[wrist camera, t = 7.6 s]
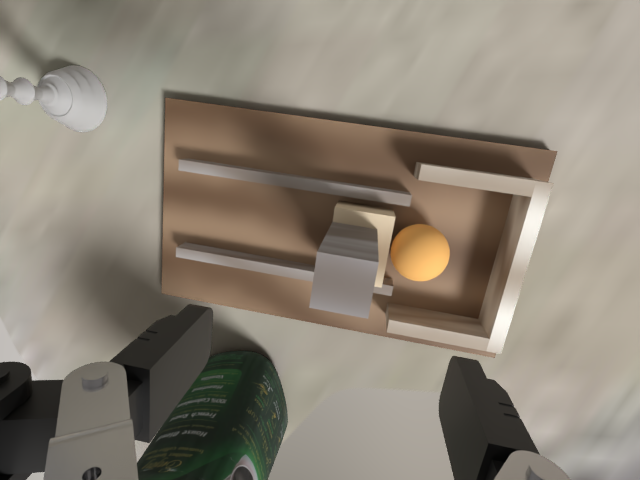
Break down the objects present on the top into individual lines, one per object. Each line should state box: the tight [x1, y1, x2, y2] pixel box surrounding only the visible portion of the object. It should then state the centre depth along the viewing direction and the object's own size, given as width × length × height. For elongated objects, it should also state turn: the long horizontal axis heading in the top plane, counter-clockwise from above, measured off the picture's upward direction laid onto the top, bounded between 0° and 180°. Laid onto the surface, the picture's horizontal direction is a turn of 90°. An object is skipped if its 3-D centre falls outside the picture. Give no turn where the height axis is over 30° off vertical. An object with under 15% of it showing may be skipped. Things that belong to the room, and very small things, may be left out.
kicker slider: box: [309, 200, 395, 319], centre depth 23 cm, size 5×4×10 cm
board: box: [162, 98, 557, 358], centre depth 27 cm, size 16×28×4 cm, turn 82°
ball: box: [390, 224, 450, 281], centre depth 26 cm, size 4×4×4 cm
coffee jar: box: [137, 351, 288, 480], centre depth 26 cm, size 10×8×19 cm
